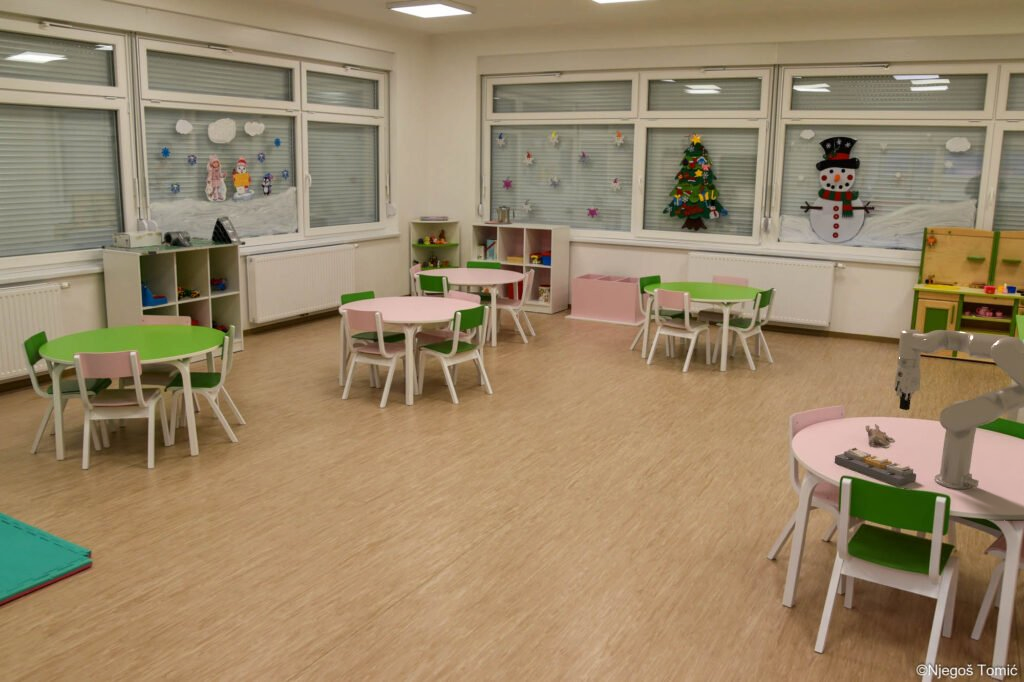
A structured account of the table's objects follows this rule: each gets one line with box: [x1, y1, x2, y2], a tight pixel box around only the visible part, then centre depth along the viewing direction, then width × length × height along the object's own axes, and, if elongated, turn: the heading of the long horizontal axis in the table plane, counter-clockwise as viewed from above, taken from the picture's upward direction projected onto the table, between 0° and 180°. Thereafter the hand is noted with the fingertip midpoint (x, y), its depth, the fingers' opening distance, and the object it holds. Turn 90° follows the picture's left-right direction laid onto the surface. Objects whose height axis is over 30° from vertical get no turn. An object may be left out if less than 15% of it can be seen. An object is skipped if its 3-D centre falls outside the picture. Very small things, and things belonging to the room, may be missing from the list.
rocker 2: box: [890, 464, 911, 471], centre depth 314 cm, size 6×4×1 cm
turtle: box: [865, 423, 895, 448], centre depth 354 cm, size 16×10×10 cm, turn 157°
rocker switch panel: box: [834, 449, 917, 488], centre depth 321 cm, size 28×10×4 cm, turn 32°
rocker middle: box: [869, 456, 889, 463], centre depth 321 cm, size 6×4×1 cm
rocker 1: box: [848, 447, 867, 456], centre depth 329 cm, size 6×4×1 cm
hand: (904, 409), depth 320 cm, fingers closed
